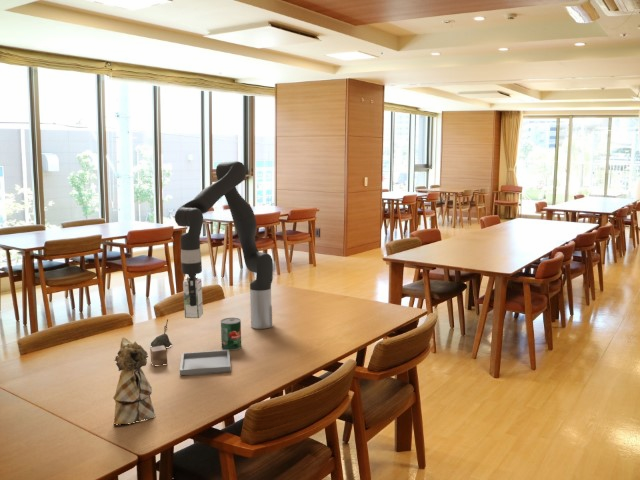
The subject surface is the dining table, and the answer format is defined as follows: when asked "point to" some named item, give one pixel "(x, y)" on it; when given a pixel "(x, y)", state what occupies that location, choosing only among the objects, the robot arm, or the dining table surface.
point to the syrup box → (198, 309)
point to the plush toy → (132, 385)
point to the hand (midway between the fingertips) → (193, 303)
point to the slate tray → (205, 362)
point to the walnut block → (158, 355)
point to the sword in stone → (161, 339)
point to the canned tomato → (231, 333)
